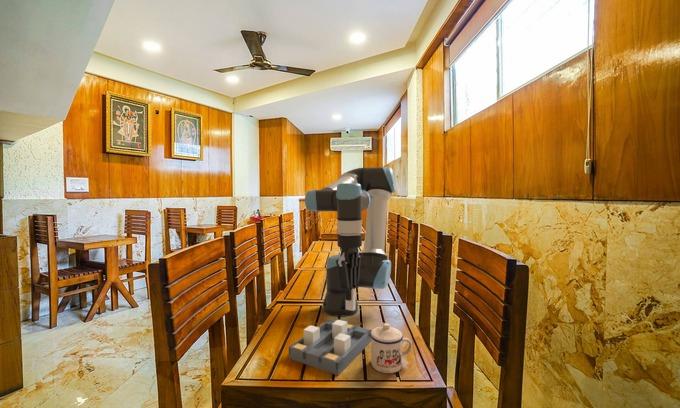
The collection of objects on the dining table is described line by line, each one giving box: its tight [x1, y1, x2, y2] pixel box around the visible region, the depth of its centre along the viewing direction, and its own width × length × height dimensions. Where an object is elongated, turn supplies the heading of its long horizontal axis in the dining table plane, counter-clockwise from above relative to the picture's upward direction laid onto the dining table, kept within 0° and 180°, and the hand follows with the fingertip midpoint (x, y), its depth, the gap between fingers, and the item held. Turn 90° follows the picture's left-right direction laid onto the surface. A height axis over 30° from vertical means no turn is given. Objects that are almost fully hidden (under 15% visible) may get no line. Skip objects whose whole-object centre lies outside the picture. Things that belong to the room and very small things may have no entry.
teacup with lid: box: [370, 322, 413, 374], centre depth 83 cm, size 12×9×12 cm
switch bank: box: [288, 319, 373, 376], centre depth 92 cm, size 22×17×4 cm
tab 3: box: [334, 333, 351, 356], centre depth 86 cm, size 4×4×5 cm
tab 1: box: [303, 325, 320, 347], centre depth 91 cm, size 4×4×5 cm
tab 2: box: [332, 319, 348, 339], centre depth 95 cm, size 4×4×5 cm
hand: (350, 309), depth 90 cm, fingers closed
